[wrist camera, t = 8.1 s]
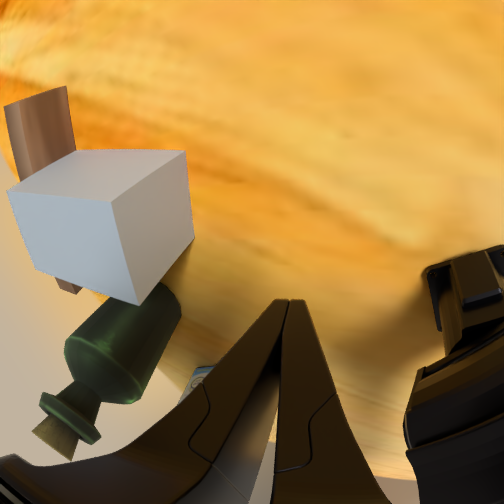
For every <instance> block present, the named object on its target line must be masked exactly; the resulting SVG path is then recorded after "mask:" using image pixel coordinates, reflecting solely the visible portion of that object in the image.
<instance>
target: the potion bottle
mask: <svg viewBox="0 0 504 504" xmlns="http://www.w3.org/2000/svg"><path fill="white" fill-rule="evenodd" d="M180 317H181V310H180V305H179V303H178V301H177V299H176V298H175V296H174V294H173V293H172V292H171V291H170V290H169V289H168V288H167V287H166V286H165V285H163V284H161V283H160V282H158V283H157V285H156V286H155V287H154V288H153V290H152V291H151V292H150V293H149V295H148V296H147V297H146V298H145V300H144V301H143V302H142V304H141V305H140V306H138V305H135V304H131V303H128V302H125V301H122V300H119V299H116V298H113V297H110V298H108V299H107V300H106V301H105V302H104V303H103V304H102V305H101V306H100V307H99V308H98V309H97V310H96V311H95V312H94V313H93V314H92V315H91V316H90V317H89V318H88V319H87V320H86V321H85V322H84V323H83V324H82V325H81V326H80V327H78V329H77V330H75V331H74V332H73V333H72V334H71V335H70V336H69V338H68V339H66V341H65V348H64V356H65V360H66V362H67V365H68V367H69V370H70V372H71V374H72V377H73V379H74V382H73V383H71V384H70V385H69V386H67V387H66V388H65V389H64V390H62V391H61V392H60V393H59V394H57V395H56V396H54V395H51V394H48V393H45V392H43V393H42V395H41V399H40V403H39V406H40V407H41V409H42V410H43V411H44V412H45V413H46V414H48V415H49V416H48V417H46V418H45V419H44V420H43V421H42V422H41V423H40V424H39V425H38V426H37V427H36V428H35V429H33V430H32V432H33V433H34V434H35V435H36V436H38V437H39V438H40V439H41V440H43V441H44V442H45V443H46V444H48V445H49V446H50V447H52V448H53V449H54V450H56V451H57V452H58V453H60V454H61V455H63V456H64V457H65V458H67V459H68V460H70V461H72V458H73V455H74V452H75V449H76V446H77V443H78V440H79V439H80V440H82V441H84V442H86V443H87V444H90V445H92V444H94V443H95V442H96V441H98V440H99V439H100V438H101V435H100V433H99V432H98V430H97V429H96V427H95V426H94V424H95V420H96V417H97V414H98V411H99V407H100V404H101V402H108V403H116V404H132V403H134V402H135V401H137V400H139V399H141V396H142V394H143V392H144V390H145V388H146V386H147V384H148V382H149V380H150V378H151V376H152V374H153V372H154V370H155V368H156V366H157V364H158V362H159V360H160V358H161V355H162V353H163V351H164V349H165V347H166V345H167V343H168V341H169V339H170V337H171V335H172V333H173V331H174V329H175V327H176V325H177V323H178V321H179V319H180Z"/></svg>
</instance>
